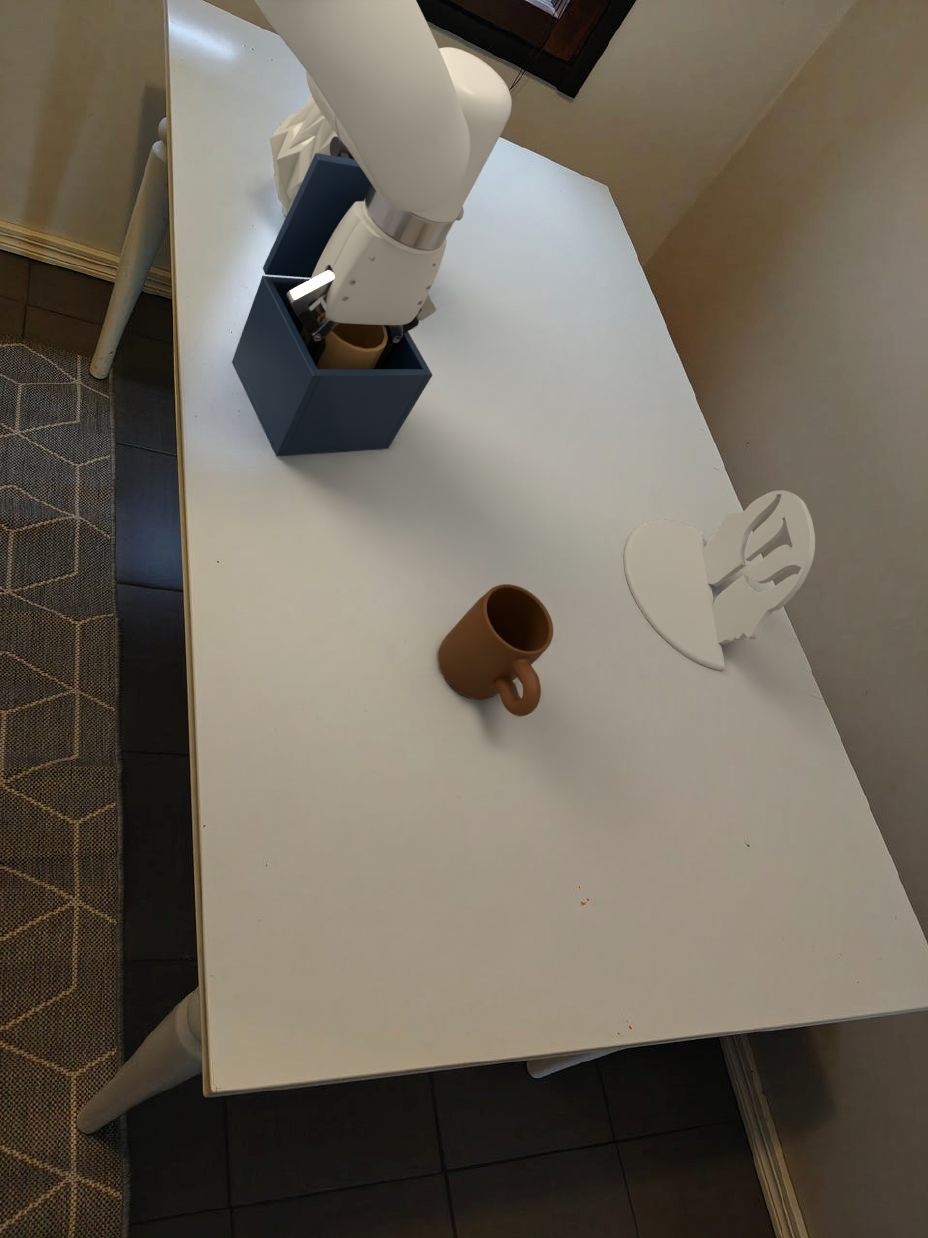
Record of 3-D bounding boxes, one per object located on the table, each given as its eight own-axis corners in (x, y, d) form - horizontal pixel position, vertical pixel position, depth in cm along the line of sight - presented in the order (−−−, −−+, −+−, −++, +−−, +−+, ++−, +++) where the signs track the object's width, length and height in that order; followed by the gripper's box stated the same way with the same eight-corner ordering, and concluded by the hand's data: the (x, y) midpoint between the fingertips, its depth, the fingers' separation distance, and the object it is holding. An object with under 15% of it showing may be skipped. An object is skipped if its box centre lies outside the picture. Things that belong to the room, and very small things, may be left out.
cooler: (388, 448, 94) (433, 374, 85) (276, 456, 85) (313, 375, 77) (343, 362, 98) (381, 283, 89) (231, 361, 89) (262, 275, 81)
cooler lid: (448, 181, 79) (426, 136, 80) (318, 159, 70) (296, 109, 72) (384, 283, 89) (366, 241, 90) (265, 274, 81) (246, 229, 82)
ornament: (723, 672, 101) (833, 598, 88) (631, 641, 96) (734, 558, 84) (699, 532, 113) (792, 450, 101) (617, 498, 109) (704, 408, 96)
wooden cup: (284, 394, 86) (313, 327, 79) (301, 355, 90) (331, 288, 84) (346, 425, 88) (379, 361, 81) (360, 385, 92) (393, 322, 86)
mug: (523, 744, 81) (579, 701, 74) (454, 746, 77) (505, 701, 70) (494, 634, 87) (542, 584, 80) (428, 631, 83) (473, 578, 76)
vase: (235, 172, 107) (279, 21, 93) (350, 195, 116) (406, 61, 103) (274, 264, 101) (327, 117, 87) (392, 280, 110) (456, 150, 97)
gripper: (468, 192, 80) (392, 336, 93) (302, 166, 69) (243, 332, 82) (504, 250, 77) (421, 388, 90) (339, 231, 67) (272, 391, 80)
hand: (337, 360), depth 86 cm, fingers closed on wooden cup, 6 cm apart
